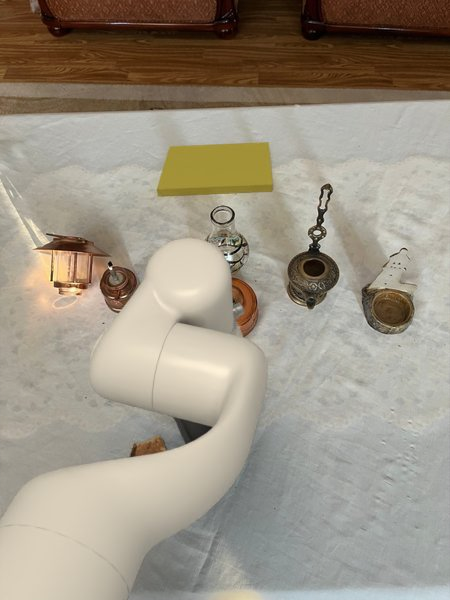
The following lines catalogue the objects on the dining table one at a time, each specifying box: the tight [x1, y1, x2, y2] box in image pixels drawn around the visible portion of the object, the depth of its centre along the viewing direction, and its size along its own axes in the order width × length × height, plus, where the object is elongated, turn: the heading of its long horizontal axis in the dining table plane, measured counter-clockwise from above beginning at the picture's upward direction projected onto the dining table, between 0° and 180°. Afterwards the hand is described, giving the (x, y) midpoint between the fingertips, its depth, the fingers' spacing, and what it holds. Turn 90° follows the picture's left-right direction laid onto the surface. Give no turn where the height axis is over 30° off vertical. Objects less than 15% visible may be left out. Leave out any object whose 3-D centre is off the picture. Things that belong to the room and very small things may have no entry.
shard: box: [129, 435, 168, 457], centre depth 82 cm, size 11×8×2 cm
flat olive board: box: [156, 141, 274, 197], centre depth 112 cm, size 12×2×24 cm
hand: (208, 390), depth 70 cm, fingers closed
